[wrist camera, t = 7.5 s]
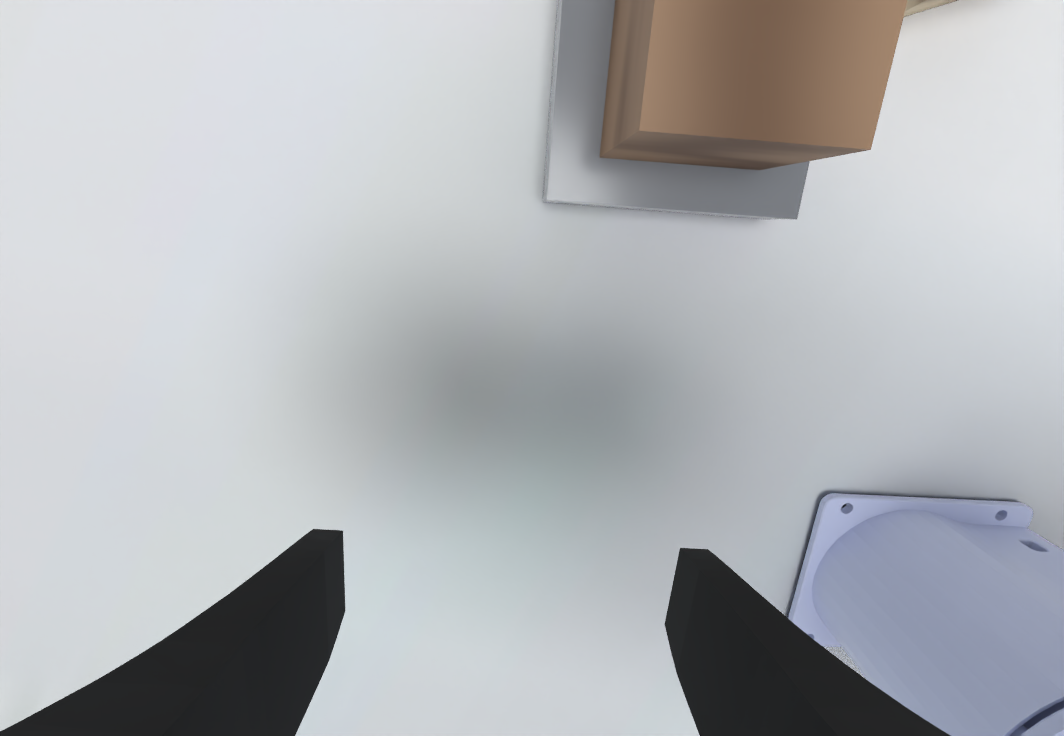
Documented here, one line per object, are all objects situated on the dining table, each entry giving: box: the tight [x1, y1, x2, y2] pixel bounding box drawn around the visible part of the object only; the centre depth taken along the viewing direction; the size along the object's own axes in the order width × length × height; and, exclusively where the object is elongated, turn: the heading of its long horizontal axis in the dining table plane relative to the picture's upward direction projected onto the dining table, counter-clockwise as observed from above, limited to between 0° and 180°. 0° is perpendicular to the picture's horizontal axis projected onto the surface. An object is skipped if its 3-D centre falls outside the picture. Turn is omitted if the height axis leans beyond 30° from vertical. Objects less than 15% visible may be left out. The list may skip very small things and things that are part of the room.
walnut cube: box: [599, 0, 907, 170], centre depth 12 cm, size 5×5×5 cm
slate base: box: [543, 0, 809, 219], centre depth 16 cm, size 8×8×2 cm
